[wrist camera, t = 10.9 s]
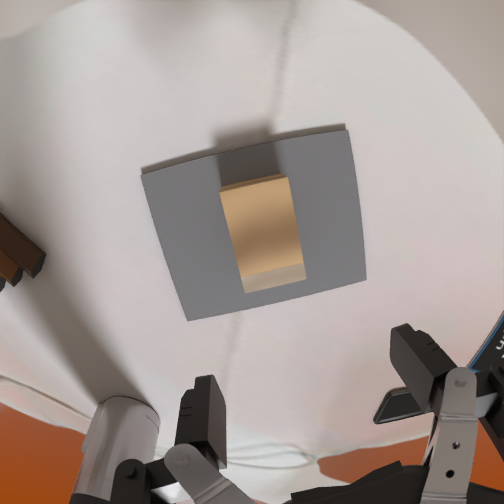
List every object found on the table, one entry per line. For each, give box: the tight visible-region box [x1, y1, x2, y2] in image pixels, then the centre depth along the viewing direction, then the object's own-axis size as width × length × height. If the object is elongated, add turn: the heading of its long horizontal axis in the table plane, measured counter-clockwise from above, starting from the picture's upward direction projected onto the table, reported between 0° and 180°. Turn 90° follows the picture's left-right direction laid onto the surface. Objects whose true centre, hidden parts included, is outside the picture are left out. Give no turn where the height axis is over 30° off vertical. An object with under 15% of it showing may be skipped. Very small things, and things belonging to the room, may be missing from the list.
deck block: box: [219, 173, 306, 293], centre depth 26 cm, size 9×6×4 cm, turn 12°
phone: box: [373, 389, 433, 424], centre depth 41 cm, size 8×1×15 cm
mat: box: [140, 130, 366, 321], centre depth 29 cm, size 20×16×1 cm
